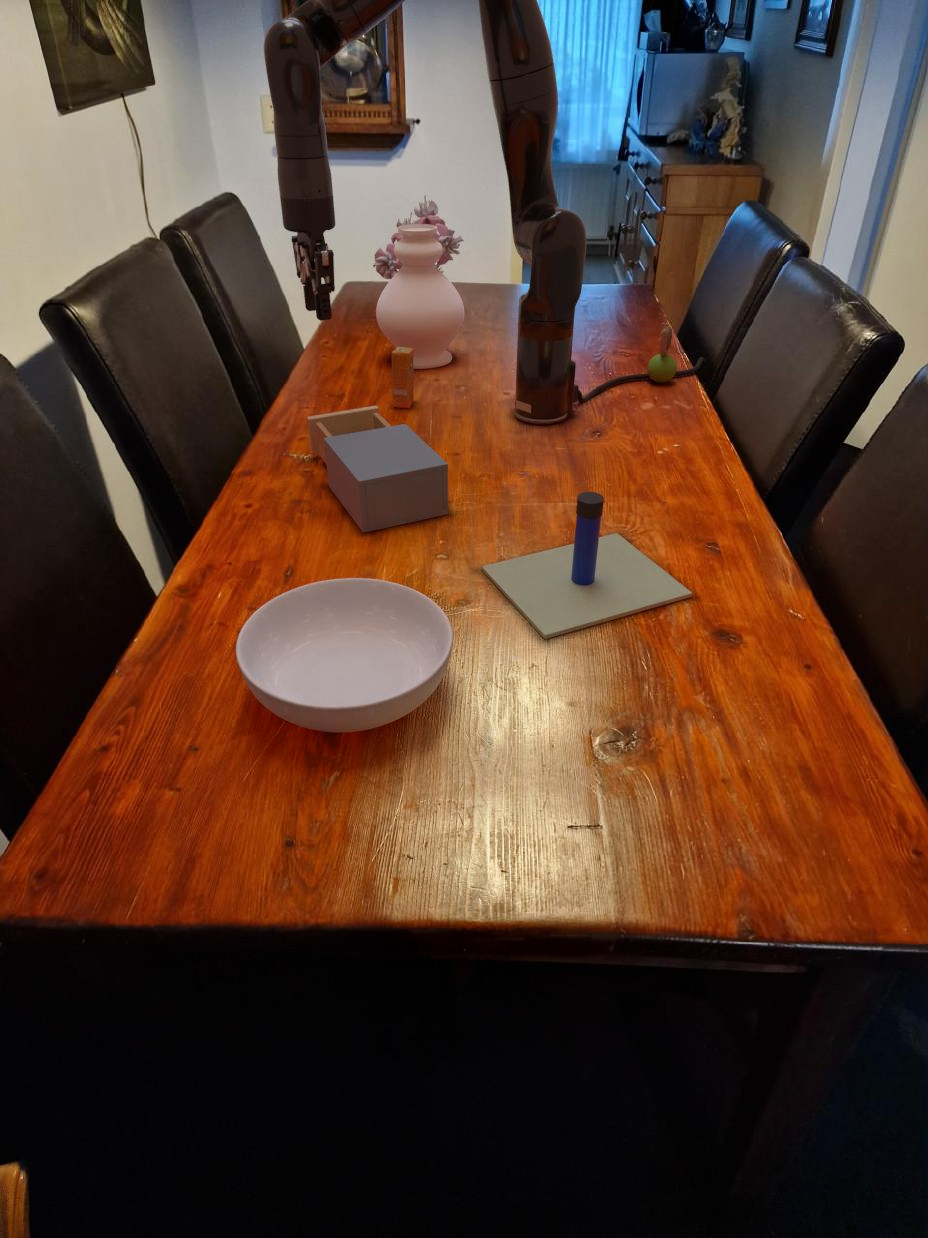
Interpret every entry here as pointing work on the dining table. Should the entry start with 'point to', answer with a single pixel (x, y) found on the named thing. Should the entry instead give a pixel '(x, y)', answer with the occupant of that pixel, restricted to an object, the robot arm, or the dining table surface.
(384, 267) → the flower
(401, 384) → the supplement box
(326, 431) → the drawer
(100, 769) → the dining table surface
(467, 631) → the dining table surface
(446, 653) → the serving bowl
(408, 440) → the cabinet
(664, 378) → the green ball with stem
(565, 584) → the mat
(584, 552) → the flashlight
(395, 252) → the decorative vase
